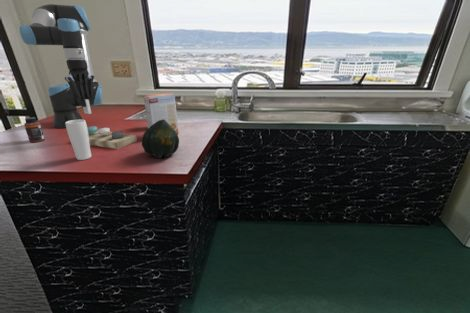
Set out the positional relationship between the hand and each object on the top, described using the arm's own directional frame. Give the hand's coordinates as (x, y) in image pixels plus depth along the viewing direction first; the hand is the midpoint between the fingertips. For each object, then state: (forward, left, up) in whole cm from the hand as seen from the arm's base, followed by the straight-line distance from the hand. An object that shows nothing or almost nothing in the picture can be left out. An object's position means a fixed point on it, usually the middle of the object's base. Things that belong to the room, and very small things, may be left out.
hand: (88, 113), depth 116 cm
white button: (+8, 0, -9) cm, 12 cm away
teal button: (0, 0, -9) cm, 9 cm away
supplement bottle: (-24, -11, -13) cm, 30 cm away
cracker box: (+28, +18, -13) cm, 36 cm away
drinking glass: (+16, -19, -13) cm, 28 cm away
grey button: (+16, 0, -10) cm, 19 cm away
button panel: (+8, 0, -13) cm, 15 cm away
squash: (+43, -4, -13) cm, 45 cm away
